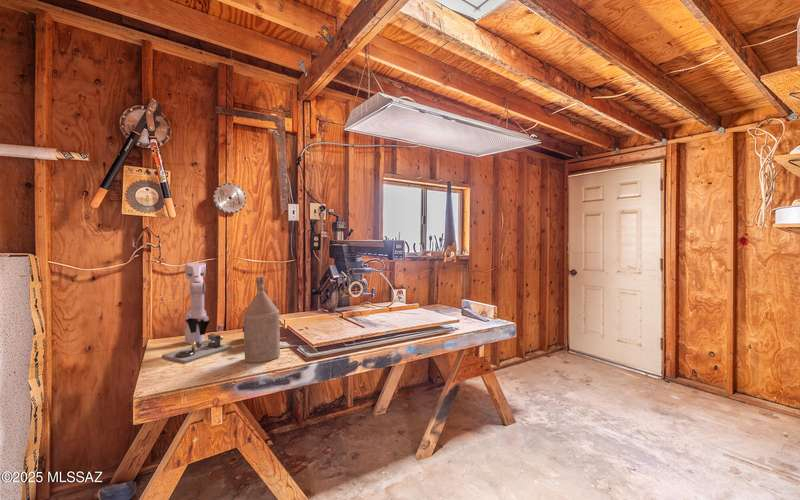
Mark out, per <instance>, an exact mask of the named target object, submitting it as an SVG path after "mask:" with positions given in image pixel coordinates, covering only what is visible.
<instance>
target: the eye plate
mask: <svg viewBox="0 0 800 500" xmlns="http://www.w3.org/2000/svg"><path fill="white" fill-rule="evenodd" d="M220 336H221V335H220V334H216V333H215V334H214V333H211V334H208V335H207V340H209V339H213V338H214V342H213V343H210V344H208V345H205V346H206V347H211V348H215V349H217V348H220V347H223V345H224V344H223V345H220V344H221V340H220Z"/></svg>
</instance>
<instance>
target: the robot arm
mask: <svg viewBox="0 0 800 500" xmlns="http://www.w3.org/2000/svg"><path fill="white" fill-rule="evenodd" d="M184 270H185V271H184V272H185V279H187V280H189V281H190V284H189V295H190V309H189V310H187V311H186V313H185V327H186V328H185V330H184V341H183V344H184V343H185V344H189V345H192V342H195V345H196V342H199V341H200V342H202V341H206V340H207V339H205V335H206V332H207V329H208V326H209V324H210V322H211V320H210V319H209V316H207V315H208V314H207V310H206V309H205V294H206V283H205V281H204V278H205V277H206V274H207V266H206V262H189V263H188V262H186V263H185V265H184Z"/></svg>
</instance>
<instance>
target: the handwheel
mask: <svg viewBox="0 0 800 500" xmlns="http://www.w3.org/2000/svg"><path fill="white" fill-rule="evenodd" d="M195 345H196V344H195V342H192V344H191V347H192V350H186V351H180V352H178V353H176V354H175V357H188V356H192V355H194V354H195Z"/></svg>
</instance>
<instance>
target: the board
mask: <svg viewBox="0 0 800 500" xmlns="http://www.w3.org/2000/svg"><path fill="white" fill-rule="evenodd" d="M206 345H208V344H206ZM220 345H223V347H220V348H217V349H215V348H211V347H206V346H205V345H203V346H201V347H199V348H197V347H196V344H195V354H194V355H192V356H188V357H175V354H176V353H178V352H180V351H186V350H192V346H189V347H185V348H181V349H178V350H175V351H171V352H167V353H164V354H162V355H161V358H162V359H166V360H171V361H174V362H177V361H178V362H179V363H182V364H188V363H192V362H195V361H197V360H201V359H203V358H207V357H210V356H212V355H216V354H219V353H222V352H225V351H228V350H231V349H232V346H231V345H227V344H222V343H220Z"/></svg>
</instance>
